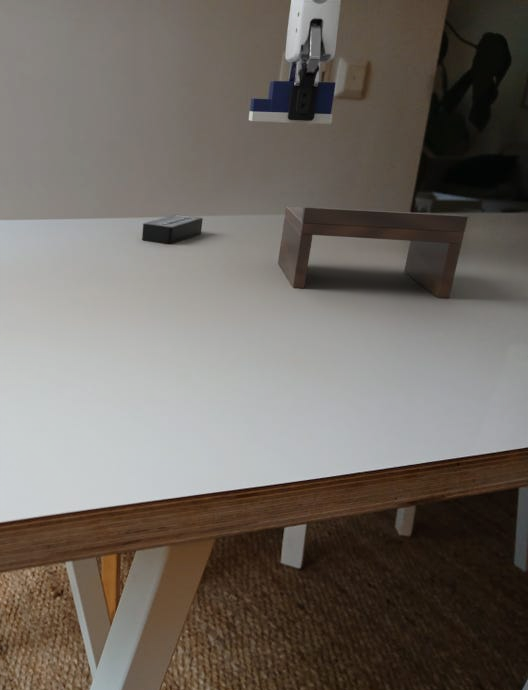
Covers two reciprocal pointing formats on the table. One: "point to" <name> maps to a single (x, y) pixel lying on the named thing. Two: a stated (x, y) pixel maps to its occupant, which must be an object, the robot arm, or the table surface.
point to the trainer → (280, 99)
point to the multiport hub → (172, 229)
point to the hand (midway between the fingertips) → (297, 118)
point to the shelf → (419, 228)
